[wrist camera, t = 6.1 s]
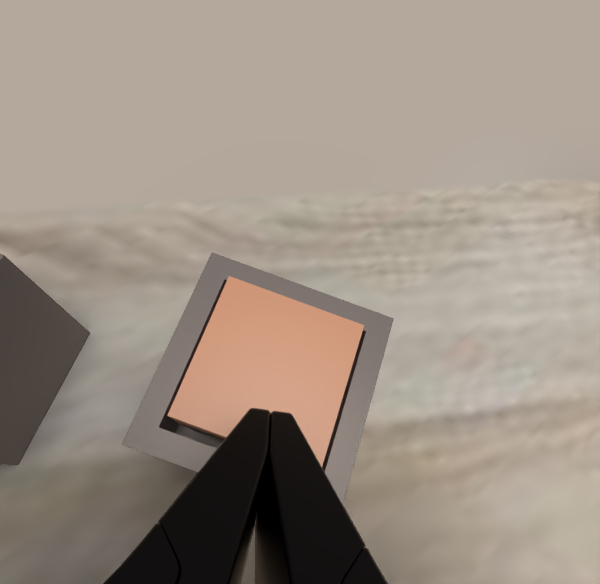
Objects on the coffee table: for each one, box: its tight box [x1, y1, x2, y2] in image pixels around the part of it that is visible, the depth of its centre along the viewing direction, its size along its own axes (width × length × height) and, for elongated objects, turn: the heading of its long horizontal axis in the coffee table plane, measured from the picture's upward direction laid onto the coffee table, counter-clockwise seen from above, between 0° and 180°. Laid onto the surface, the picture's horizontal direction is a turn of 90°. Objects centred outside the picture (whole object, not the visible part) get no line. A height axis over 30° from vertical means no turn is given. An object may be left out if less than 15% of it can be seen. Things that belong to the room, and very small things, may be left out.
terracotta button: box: [167, 276, 364, 467], centre depth 13 cm, size 4×4×2 cm
